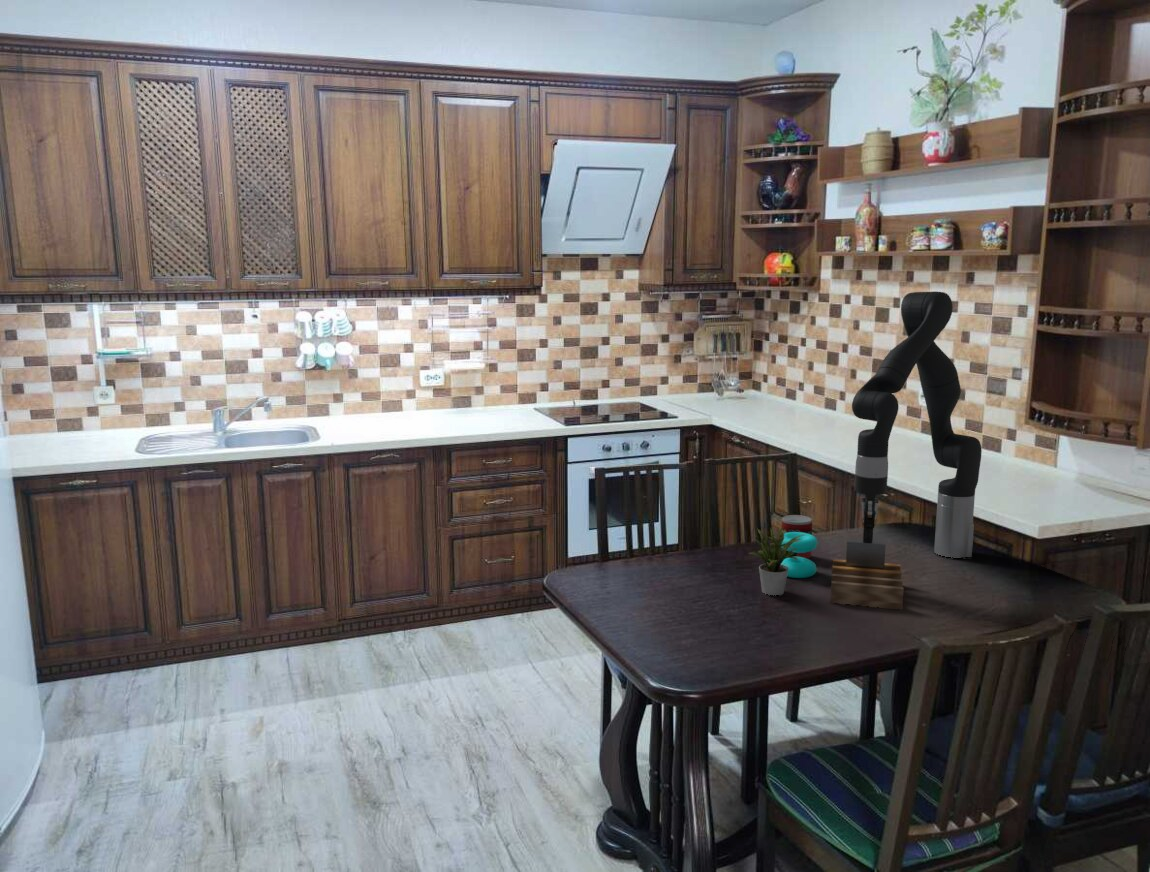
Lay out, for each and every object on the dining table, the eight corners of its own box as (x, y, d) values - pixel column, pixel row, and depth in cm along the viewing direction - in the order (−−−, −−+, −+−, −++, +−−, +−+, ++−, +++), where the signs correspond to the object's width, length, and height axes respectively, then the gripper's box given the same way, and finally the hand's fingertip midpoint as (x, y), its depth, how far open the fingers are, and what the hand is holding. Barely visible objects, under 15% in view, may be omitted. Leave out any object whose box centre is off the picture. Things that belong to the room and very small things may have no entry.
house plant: (805, 606, 213) (808, 539, 210) (745, 602, 216) (747, 536, 213) (803, 585, 227) (805, 522, 224) (746, 582, 229) (748, 519, 226)
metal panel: (883, 580, 225) (885, 541, 224) (883, 583, 223) (885, 544, 221) (845, 577, 228) (847, 538, 226) (845, 580, 226) (847, 541, 224)
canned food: (775, 554, 251) (776, 516, 249) (801, 551, 253) (802, 513, 251) (790, 563, 244) (791, 523, 242) (816, 560, 246) (817, 520, 244)
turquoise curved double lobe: (780, 541, 230) (776, 530, 239) (779, 579, 231) (774, 566, 241) (820, 542, 229) (814, 530, 238) (819, 580, 230) (813, 567, 240)
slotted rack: (899, 584, 226) (900, 564, 226) (902, 609, 210) (903, 588, 209) (832, 578, 231) (833, 559, 230) (830, 603, 215) (831, 581, 214)
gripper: (888, 480, 213) (884, 551, 216) (886, 468, 225) (882, 535, 229) (855, 478, 215) (851, 548, 218) (855, 466, 228) (851, 533, 231)
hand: (867, 541), depth 223 cm, fingers closed
